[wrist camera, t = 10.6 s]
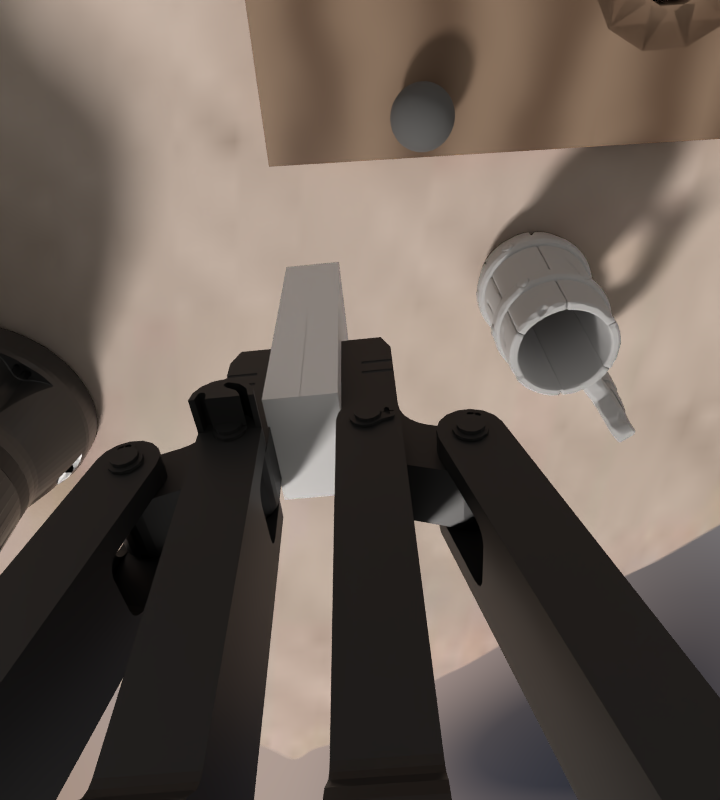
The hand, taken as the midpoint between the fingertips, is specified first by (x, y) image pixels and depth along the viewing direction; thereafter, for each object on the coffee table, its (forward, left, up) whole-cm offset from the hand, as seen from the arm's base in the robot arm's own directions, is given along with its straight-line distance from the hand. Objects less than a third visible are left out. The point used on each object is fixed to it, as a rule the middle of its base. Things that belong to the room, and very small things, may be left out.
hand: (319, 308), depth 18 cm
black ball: (+4, +1, -20) cm, 20 cm away
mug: (+13, -12, -24) cm, 30 cm away
